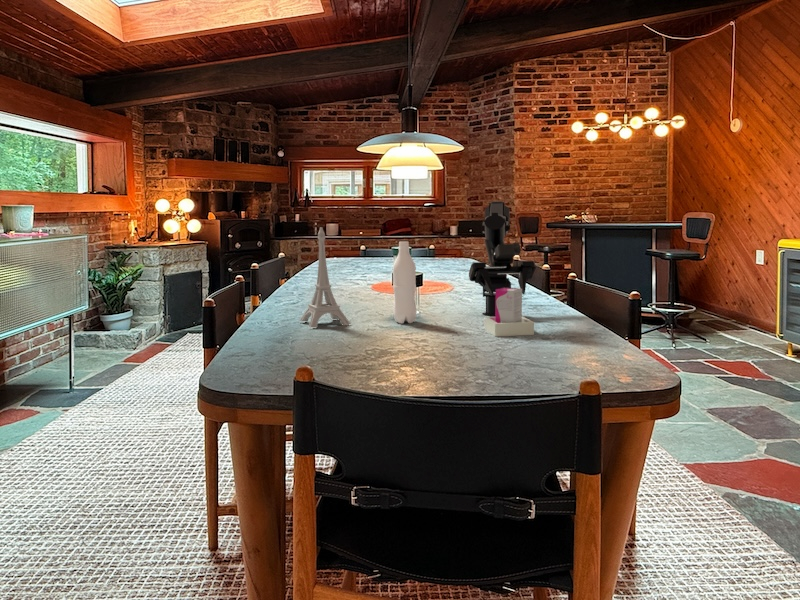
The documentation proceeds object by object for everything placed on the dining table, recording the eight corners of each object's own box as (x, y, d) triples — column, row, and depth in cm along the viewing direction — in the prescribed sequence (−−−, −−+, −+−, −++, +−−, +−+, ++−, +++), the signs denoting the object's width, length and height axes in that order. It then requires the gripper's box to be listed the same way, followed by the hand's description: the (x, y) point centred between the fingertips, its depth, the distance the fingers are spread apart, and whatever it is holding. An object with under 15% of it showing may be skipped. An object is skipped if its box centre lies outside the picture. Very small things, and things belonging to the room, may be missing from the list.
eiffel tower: (297, 322, 201) (294, 227, 196) (338, 319, 206) (335, 226, 202) (309, 330, 189) (305, 228, 184) (352, 325, 194) (349, 227, 190)
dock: (484, 328, 185) (484, 317, 184) (520, 327, 186) (521, 315, 186) (495, 336, 174) (495, 323, 173) (533, 334, 175) (534, 322, 175)
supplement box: (522, 328, 181) (522, 288, 179) (513, 331, 176) (513, 290, 174) (503, 326, 184) (504, 286, 183) (494, 329, 179) (494, 289, 178)
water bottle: (414, 324, 194) (413, 242, 190) (391, 324, 195) (389, 242, 191) (418, 320, 201) (417, 240, 197) (396, 319, 202) (394, 241, 198)
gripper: (471, 234, 181) (481, 277, 171) (534, 232, 183) (547, 275, 174) (464, 259, 189) (474, 301, 180) (524, 257, 192) (537, 299, 183)
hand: (508, 293), depth 179 cm, fingers open, 9 cm apart
